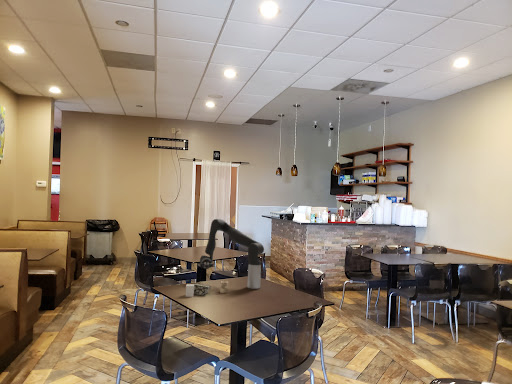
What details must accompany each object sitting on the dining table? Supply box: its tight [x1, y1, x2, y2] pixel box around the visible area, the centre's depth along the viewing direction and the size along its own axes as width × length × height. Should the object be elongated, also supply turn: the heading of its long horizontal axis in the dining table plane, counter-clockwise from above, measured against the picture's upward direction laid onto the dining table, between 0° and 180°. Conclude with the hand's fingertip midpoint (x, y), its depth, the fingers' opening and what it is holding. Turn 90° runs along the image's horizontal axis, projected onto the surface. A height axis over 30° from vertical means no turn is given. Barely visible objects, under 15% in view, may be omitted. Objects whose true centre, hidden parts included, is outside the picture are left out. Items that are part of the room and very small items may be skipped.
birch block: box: [219, 280, 229, 294], centre depth 250 cm, size 5×5×7 cm
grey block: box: [185, 283, 195, 298], centre depth 235 cm, size 5×5×7 cm
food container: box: [193, 283, 212, 296], centre depth 242 cm, size 12×6×10 cm
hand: (206, 266), depth 263 cm, fingers closed
